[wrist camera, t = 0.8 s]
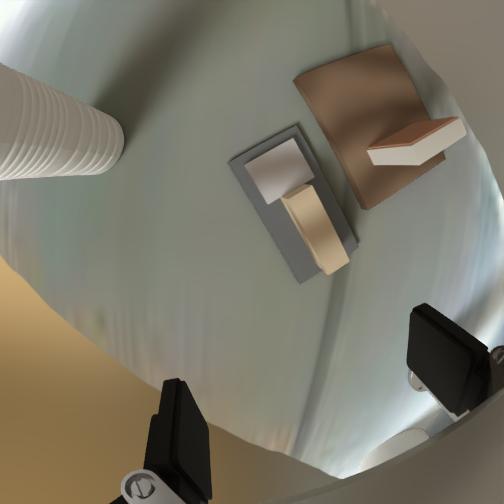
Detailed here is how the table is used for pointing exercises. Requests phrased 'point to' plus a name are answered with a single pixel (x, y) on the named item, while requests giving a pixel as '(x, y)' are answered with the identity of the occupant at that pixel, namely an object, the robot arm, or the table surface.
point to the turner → (298, 201)
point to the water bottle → (52, 131)
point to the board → (366, 117)
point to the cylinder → (394, 447)
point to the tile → (417, 142)
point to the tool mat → (278, 215)
